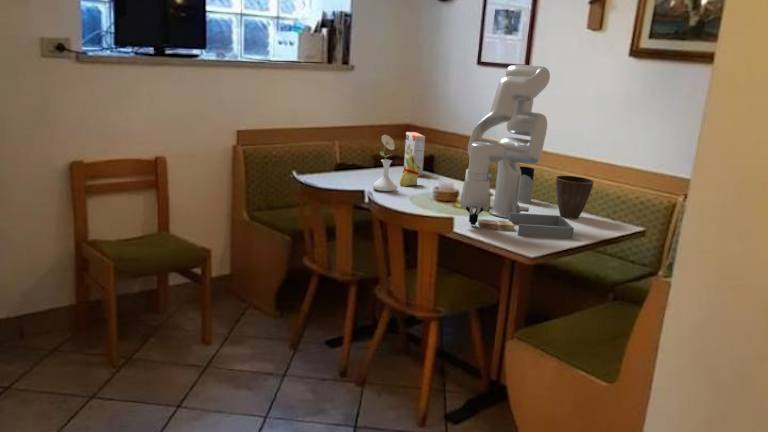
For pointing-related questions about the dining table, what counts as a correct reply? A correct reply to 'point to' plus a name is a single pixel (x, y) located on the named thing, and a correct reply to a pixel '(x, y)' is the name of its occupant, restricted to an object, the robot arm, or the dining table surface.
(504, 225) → the tile oak
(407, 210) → the dining table surface
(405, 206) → the dining table surface
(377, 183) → the flower in vase
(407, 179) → the chocolate bunny
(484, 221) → the tile walnut
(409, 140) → the cracker box
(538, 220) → the frame
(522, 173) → the glass holder
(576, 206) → the plant pot
